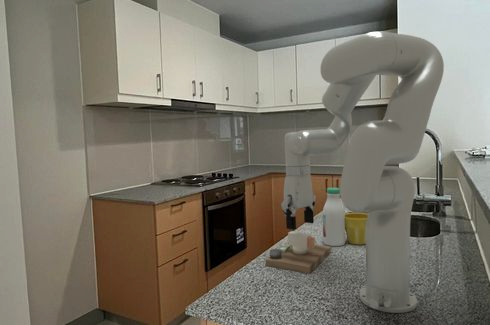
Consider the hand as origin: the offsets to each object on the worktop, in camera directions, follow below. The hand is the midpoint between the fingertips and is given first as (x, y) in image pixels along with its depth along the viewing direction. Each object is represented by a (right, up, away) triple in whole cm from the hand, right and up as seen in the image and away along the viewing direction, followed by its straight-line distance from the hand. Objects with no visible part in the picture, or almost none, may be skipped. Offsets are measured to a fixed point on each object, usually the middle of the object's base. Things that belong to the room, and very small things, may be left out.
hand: (300, 225), depth 111 cm
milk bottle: (+15, -9, +16) cm, 24 cm away
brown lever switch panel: (0, -11, +2) cm, 11 cm away
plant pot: (+23, -9, +17) cm, 30 cm away
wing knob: (0, -9, +1) cm, 9 cm away
